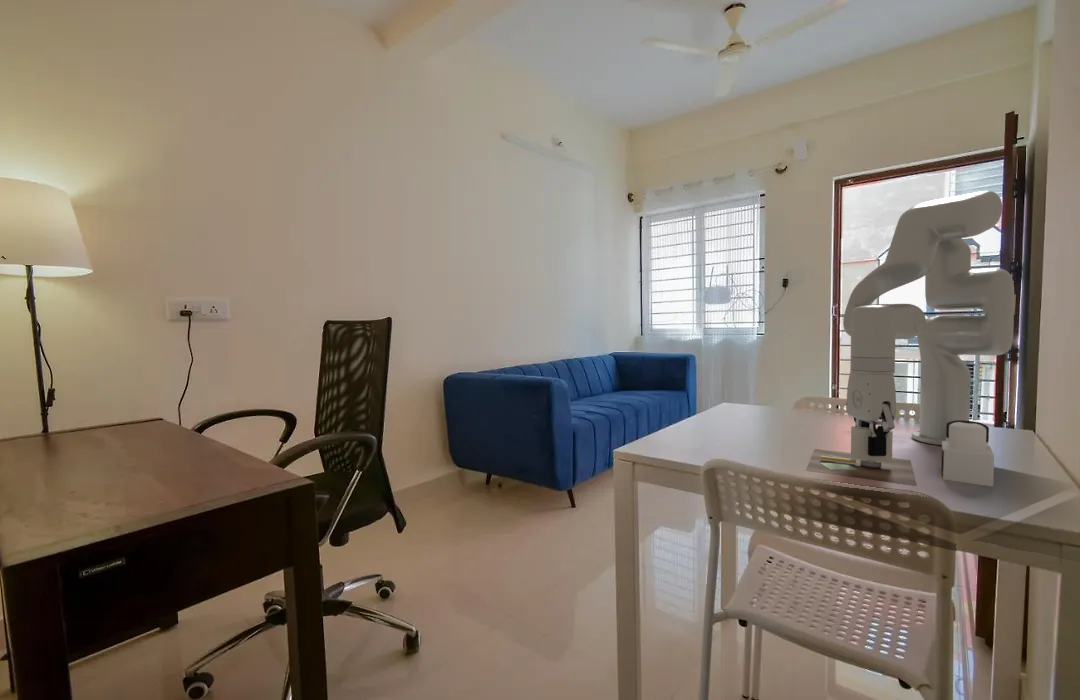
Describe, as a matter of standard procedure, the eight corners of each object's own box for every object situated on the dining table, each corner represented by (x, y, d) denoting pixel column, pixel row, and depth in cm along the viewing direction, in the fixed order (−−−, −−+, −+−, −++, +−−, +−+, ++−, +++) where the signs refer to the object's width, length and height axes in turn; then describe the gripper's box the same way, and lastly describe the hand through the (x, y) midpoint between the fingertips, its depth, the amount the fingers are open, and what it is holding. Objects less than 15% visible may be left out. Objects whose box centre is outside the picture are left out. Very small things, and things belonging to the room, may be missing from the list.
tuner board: (814, 453, 112) (814, 448, 112) (910, 465, 102) (910, 459, 102) (805, 475, 98) (805, 469, 98) (916, 492, 87) (916, 485, 87)
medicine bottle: (940, 474, 96) (942, 416, 95) (989, 481, 91) (991, 420, 91) (941, 485, 90) (943, 423, 90) (993, 493, 86) (995, 428, 85)
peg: (892, 471, 95) (892, 432, 95) (820, 462, 102) (820, 426, 102) (890, 466, 98) (891, 428, 98) (821, 458, 105) (821, 422, 105)
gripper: (832, 361, 106) (831, 442, 107) (876, 370, 90) (874, 465, 91) (868, 361, 105) (867, 442, 106) (919, 369, 89) (917, 465, 90)
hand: (870, 451), depth 99 cm, fingers closed on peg, 3 cm apart
